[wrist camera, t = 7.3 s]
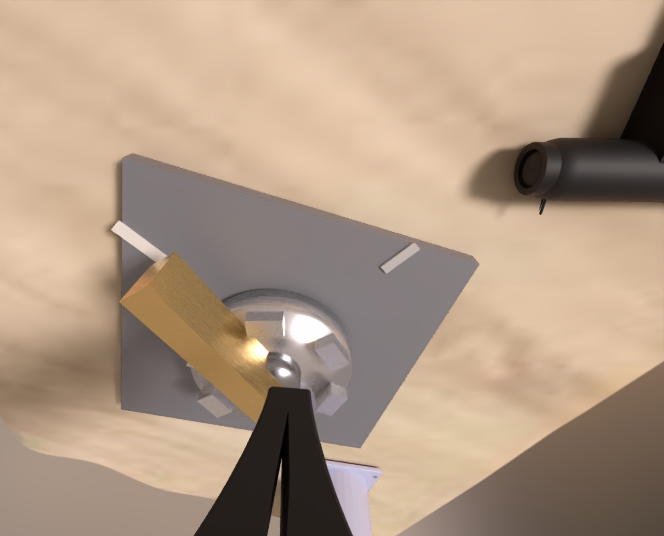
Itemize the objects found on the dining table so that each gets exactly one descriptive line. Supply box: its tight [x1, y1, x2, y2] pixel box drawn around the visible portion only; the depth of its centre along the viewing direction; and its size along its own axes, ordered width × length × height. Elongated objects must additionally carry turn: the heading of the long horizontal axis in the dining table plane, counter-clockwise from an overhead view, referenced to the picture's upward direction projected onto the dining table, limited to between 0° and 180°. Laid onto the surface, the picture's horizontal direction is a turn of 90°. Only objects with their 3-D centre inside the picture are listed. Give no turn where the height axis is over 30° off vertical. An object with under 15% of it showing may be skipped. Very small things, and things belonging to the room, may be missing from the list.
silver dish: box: [119, 252, 352, 423], centre depth 19 cm, size 14×10×5 cm
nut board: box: [111, 153, 479, 448], centre depth 23 cm, size 20×20×1 cm
